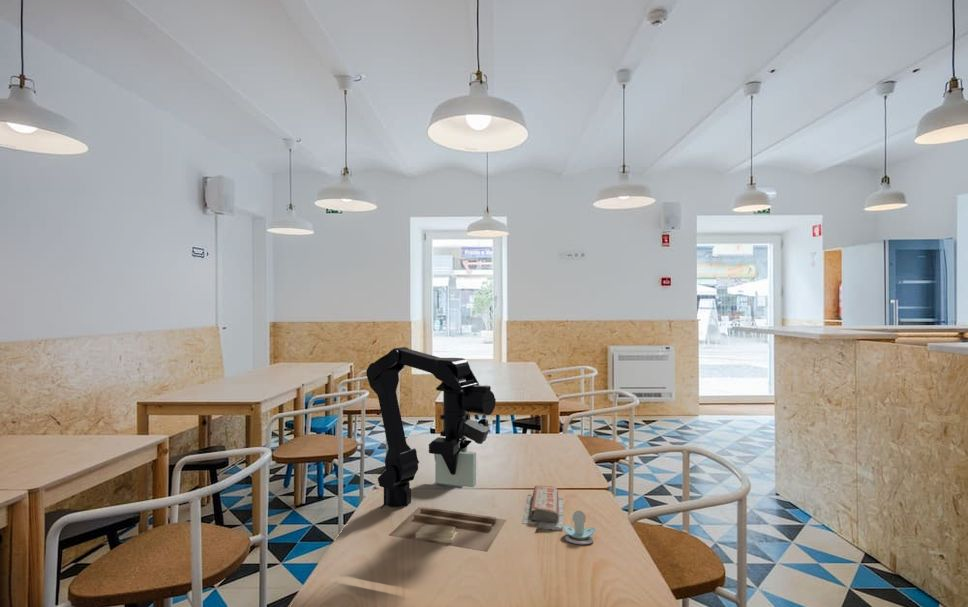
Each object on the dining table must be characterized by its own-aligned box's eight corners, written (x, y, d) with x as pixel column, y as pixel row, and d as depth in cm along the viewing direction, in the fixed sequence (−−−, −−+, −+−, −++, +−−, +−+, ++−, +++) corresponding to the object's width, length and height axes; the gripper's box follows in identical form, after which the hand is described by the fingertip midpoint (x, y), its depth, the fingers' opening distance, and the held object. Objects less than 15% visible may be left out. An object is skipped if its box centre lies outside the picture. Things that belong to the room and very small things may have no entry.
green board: (435, 482, 121) (435, 450, 121) (438, 479, 123) (438, 448, 123) (473, 487, 118) (473, 454, 118) (476, 484, 120) (476, 452, 120)
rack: (388, 539, 113) (388, 529, 113) (418, 511, 129) (418, 502, 129) (487, 555, 106) (487, 545, 106) (506, 523, 121) (506, 515, 121)
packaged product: (527, 482, 137) (563, 485, 135) (527, 499, 137) (563, 502, 135) (522, 509, 119) (563, 512, 118) (522, 529, 119) (563, 532, 118)
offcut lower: (415, 537, 112) (415, 533, 112) (422, 530, 116) (422, 526, 116) (452, 543, 109) (452, 539, 109) (457, 536, 113) (457, 532, 113)
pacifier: (595, 548, 110) (594, 534, 116) (595, 520, 110) (594, 508, 116) (562, 544, 112) (563, 531, 117) (562, 517, 111) (563, 506, 117)
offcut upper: (421, 535, 111) (421, 530, 111) (425, 529, 114) (425, 524, 114) (452, 537, 110) (452, 532, 110) (455, 531, 113) (455, 526, 113)
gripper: (473, 421, 109) (473, 490, 109) (496, 404, 127) (496, 464, 127) (427, 417, 113) (427, 484, 113) (456, 401, 130) (456, 459, 130)
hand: (454, 472), depth 121 cm, fingers closed on green board, 2 cm apart
